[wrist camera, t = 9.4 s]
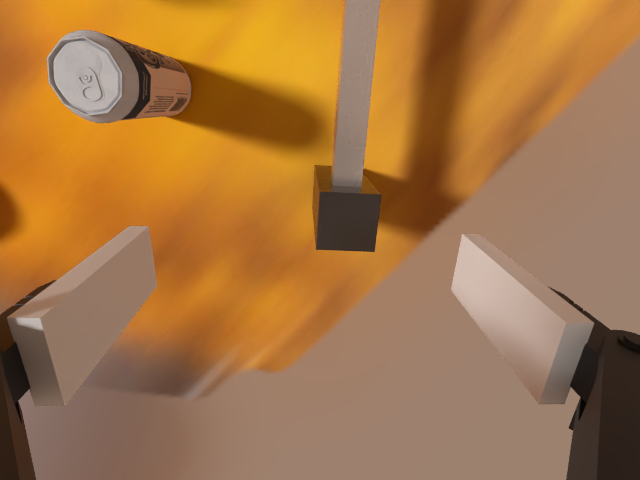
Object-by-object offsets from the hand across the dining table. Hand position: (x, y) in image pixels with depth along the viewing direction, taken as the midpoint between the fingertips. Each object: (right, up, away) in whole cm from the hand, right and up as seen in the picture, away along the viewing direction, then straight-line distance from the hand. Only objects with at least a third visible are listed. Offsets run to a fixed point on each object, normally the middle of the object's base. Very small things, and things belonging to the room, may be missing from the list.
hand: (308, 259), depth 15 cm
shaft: (+3, +15, +15) cm, 21 cm away
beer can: (-13, +14, +15) cm, 24 cm away
